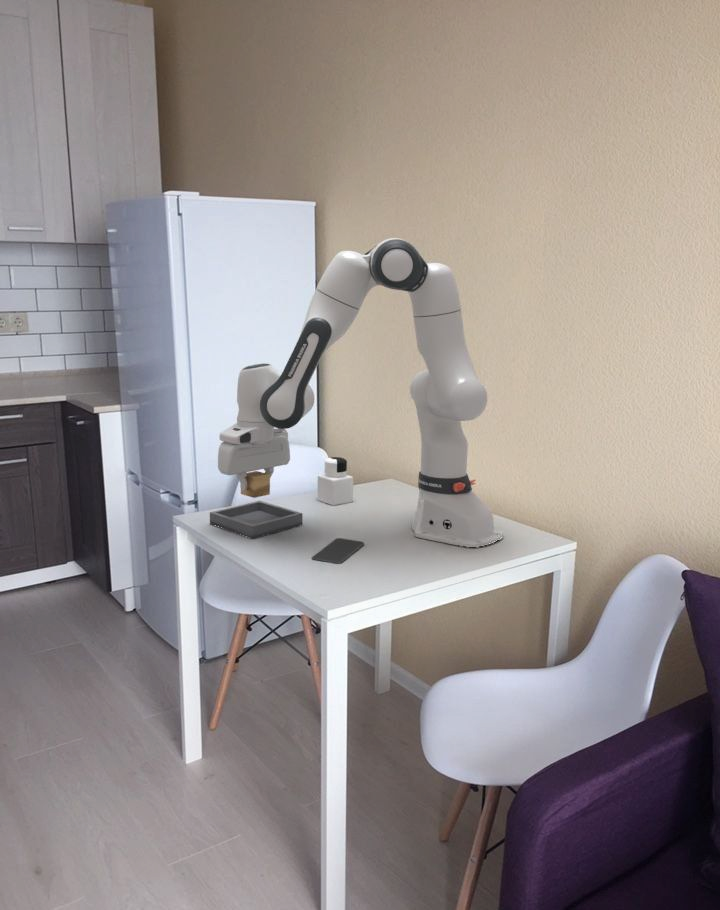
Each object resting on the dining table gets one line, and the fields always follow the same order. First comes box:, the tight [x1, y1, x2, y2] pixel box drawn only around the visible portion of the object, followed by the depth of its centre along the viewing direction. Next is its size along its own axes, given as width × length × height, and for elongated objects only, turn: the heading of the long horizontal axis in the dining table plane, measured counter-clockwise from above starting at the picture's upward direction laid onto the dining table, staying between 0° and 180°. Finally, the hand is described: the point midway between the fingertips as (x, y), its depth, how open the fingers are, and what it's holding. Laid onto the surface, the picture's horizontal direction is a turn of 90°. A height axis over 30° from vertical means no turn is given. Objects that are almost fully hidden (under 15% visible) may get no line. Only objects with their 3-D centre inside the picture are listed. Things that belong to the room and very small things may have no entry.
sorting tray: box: [209, 500, 303, 540], centre depth 198 cm, size 16×16×3 cm
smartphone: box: [311, 537, 365, 565], centre depth 180 cm, size 7×1×15 cm
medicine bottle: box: [317, 456, 354, 506], centre depth 220 cm, size 7×7×12 cm
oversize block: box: [240, 470, 271, 499], centre depth 196 cm, size 5×5×5 cm
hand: (255, 487), depth 196 cm, fingers closed on oversize block, 5 cm apart
